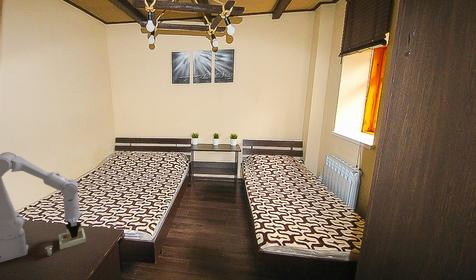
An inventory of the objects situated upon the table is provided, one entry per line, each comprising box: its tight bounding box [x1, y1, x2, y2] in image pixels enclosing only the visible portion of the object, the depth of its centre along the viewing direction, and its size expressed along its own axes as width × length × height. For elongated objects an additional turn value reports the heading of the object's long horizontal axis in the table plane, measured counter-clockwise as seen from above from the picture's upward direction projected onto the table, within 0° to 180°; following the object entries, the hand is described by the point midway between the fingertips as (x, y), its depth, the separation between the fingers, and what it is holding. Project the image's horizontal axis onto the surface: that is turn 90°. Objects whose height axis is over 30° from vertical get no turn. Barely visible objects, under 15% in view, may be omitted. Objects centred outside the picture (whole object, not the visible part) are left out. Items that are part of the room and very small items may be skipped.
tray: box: [58, 227, 87, 251], centre depth 110 cm, size 10×10×2 cm
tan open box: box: [63, 226, 82, 242], centre depth 110 cm, size 7×5×5 cm
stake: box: [44, 244, 53, 257], centre depth 100 cm, size 2×2×4 cm
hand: (73, 233), depth 110 cm, fingers open, 7 cm apart
